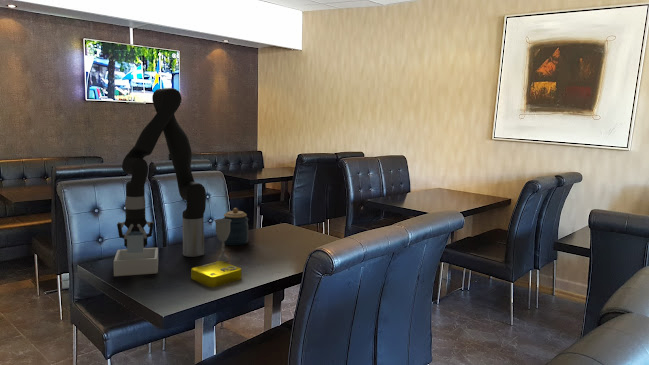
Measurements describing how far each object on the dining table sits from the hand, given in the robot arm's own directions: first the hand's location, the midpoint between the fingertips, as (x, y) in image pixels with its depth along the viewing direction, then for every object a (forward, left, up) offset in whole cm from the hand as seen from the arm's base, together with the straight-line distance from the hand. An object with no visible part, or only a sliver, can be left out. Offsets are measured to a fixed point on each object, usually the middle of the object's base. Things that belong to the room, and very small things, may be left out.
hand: (135, 247), depth 191 cm
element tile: (-31, +19, -10) cm, 37 cm away
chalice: (-35, -3, -9) cm, 37 cm away
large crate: (0, 0, -9) cm, 9 cm away
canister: (-44, -31, -9) cm, 55 cm away
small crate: (0, 0, -1) cm, 1 cm away
